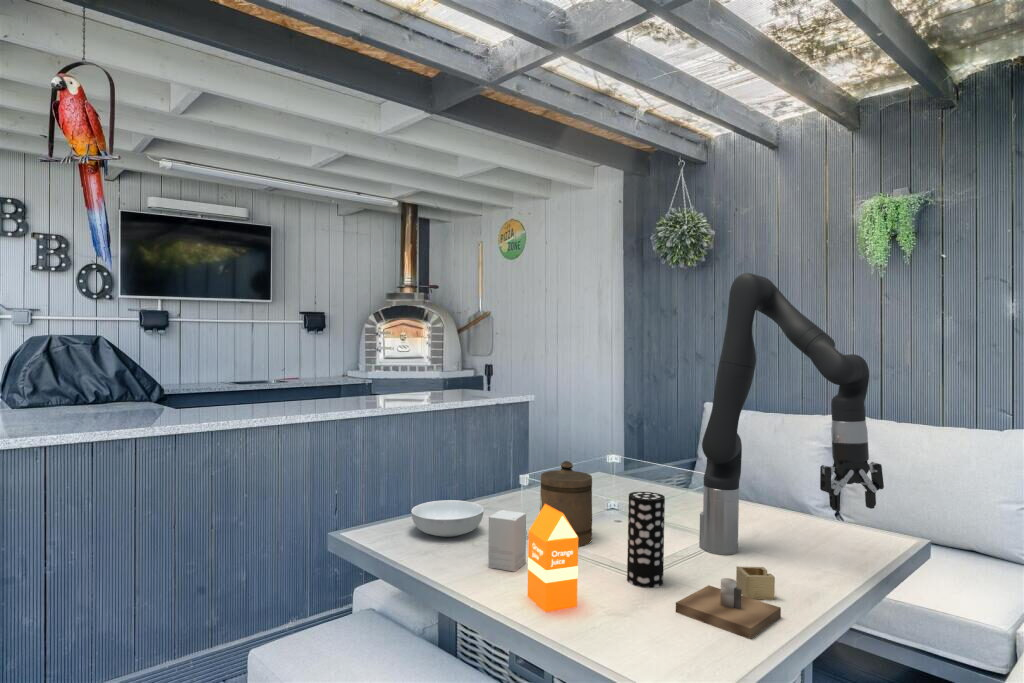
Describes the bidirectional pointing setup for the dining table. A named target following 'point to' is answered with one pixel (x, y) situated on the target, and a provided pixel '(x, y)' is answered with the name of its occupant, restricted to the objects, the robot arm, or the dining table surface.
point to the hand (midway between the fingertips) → (853, 509)
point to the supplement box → (507, 540)
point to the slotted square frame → (755, 583)
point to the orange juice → (552, 561)
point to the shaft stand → (729, 609)
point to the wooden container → (570, 498)
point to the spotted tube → (645, 539)
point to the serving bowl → (447, 517)
